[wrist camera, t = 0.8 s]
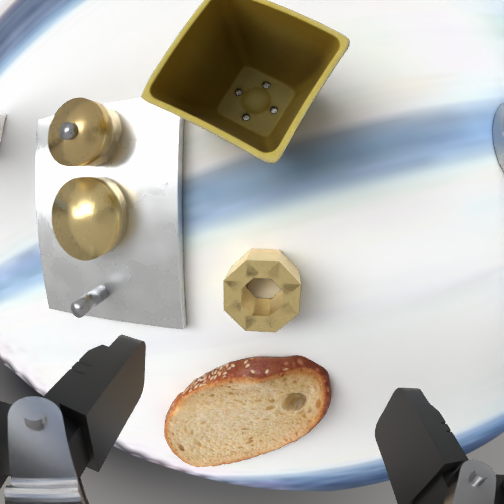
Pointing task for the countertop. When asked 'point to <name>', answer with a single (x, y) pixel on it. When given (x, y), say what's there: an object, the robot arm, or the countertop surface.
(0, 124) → the skyscraper
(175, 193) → the carrier
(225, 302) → the gold octagonal ring
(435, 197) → the countertop surface
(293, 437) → the slice of bread
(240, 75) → the flower pot
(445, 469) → the robot arm
